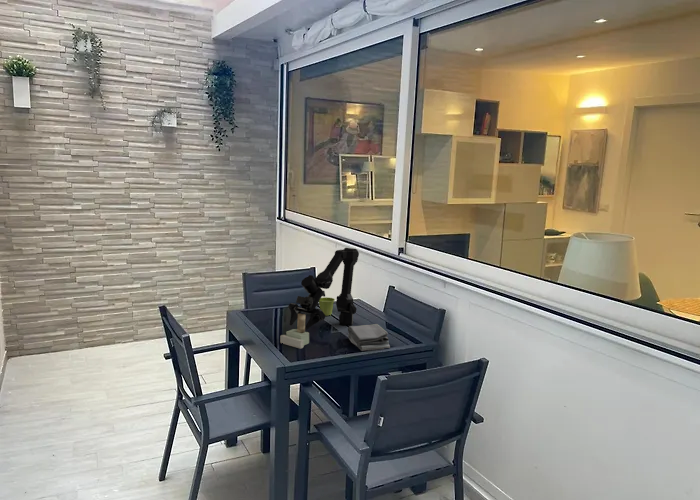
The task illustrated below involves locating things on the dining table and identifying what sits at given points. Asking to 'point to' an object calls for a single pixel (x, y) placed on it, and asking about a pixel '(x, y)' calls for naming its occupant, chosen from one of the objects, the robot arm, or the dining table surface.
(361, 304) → the dining table surface
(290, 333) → the block
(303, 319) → the dowel
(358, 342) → the towel
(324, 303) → the plant pot
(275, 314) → the dining table surface
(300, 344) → the kerb
